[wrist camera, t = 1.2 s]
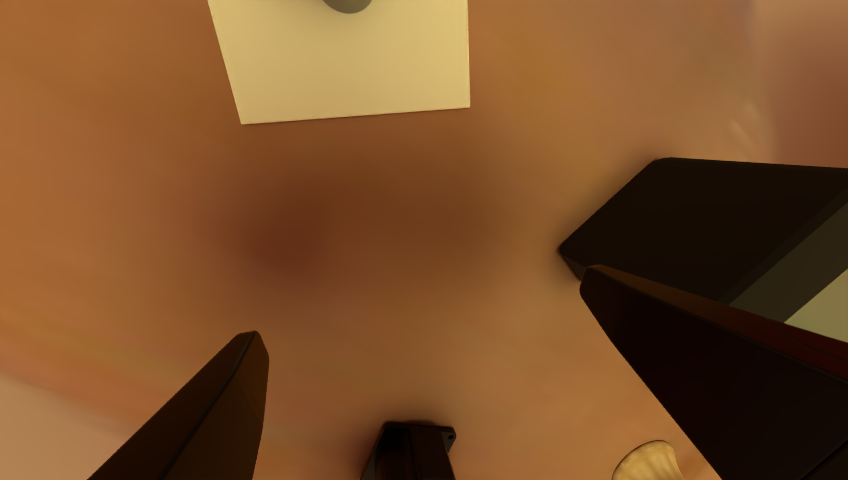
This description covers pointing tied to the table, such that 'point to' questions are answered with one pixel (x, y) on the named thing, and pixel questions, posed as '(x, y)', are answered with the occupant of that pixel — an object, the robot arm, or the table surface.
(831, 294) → the l-shaped corner panel
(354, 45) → the mat
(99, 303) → the table surface
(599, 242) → the electronic device
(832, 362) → the robot arm
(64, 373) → the table surface
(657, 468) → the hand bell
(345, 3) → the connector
